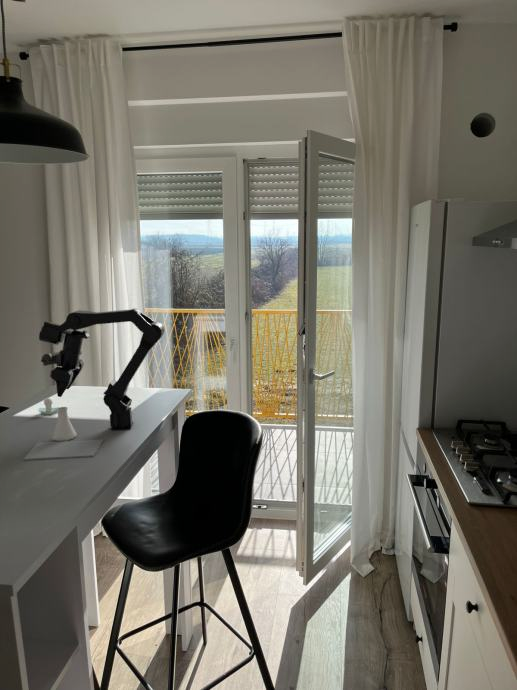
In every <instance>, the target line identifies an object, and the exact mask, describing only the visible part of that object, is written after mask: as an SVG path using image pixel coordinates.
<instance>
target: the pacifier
mask: <svg viewBox="0 0 517 690" xmlns="http://www.w3.org/2000/svg"><path fill="white" fill-rule="evenodd" d="M43 403H44V405H45V407H39V408H37V409H38V412H39V413H41V414H44V415H55V413H56V414H57V413H58V411H57V408H59V407H60V406H58V407H52V405H53V400H52V399H51V398H49V397H47V398H44V400H43Z"/></svg>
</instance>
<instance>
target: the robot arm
mask: <svg viewBox="0 0 517 690" xmlns="http://www.w3.org/2000/svg"><path fill="white" fill-rule="evenodd" d="M127 322H129V323H130V322H131V323H132V324H133V325H134V326H135V327H136V328H137V329H138V330H139V331H140V332H141V333H142V336H141V338H140V342H139V345H138V347H137V348H136V350H135V352H134V353H133V355H132V357H131V359H130V360H129V361H128V363H127V365H126V367H125V368H124V370H123V372H122V373H121V374H120V376H119V378H118V379H117V380H115V379H112V380H111V382H109V384H108V386H107V389H106V390H105V391H104V392H103V399H102V401H103V402H104V405H106V406H107V407H108V409H109V411H110V415H109V423H110V425H109V426H110V427H111V428H110V430H111V431H114V430H119V431H121V430H130V429H132V427H133V425H134V421H133V412H132V407H131V405H132V402H133V399H131V398H130V397H129V396H128V395H127V392H128V390H129V386H130V383H131V381H132V379H134V376H135V375H136V373H137V371H138V370H139V368H140V367H141V365H142V363H143V362H144V360H145V359H146V357H147V355H148V354H149V352H150V351H151V349H152V348H153V347H154V346H155V345H156V344H157V343H158V341H159V340H160V339H161V338H162V337H163V335H164V333H165V326H164V325H163V324H162V323H161V322H159V321H154V320H153V319H152V318H151V317H149V316H148V315H146V314H144V312H142V311H141V310H139V309H138V308H135V307H134V308H131V309H123V310H121V309H119V310H111V311H109V310H108V311H97V312H96V311H90V310H82V309H81V310H80V309H78V310H75V311H73V312H70V313H69V314H68V315H67V316H66V319H65V321H64V322H62V323H61V324H57V323H53V322H51V321H47V320H46V321H44V322H43V325H42V327H41V330H40V331H39V334H38V335H39V336H38V339H39V342H43V343H47V344H52V345H56V346H58V345H59V344H60V343H62V349H60V350H59V352H49V353H44V354H43V355H41V359H40V362H41V363H42V364H43V367H45V366H49V365H56V367H54V368H53V369H52V370H51V371H50V374H49V377H50V378H51V380H54V382H55V384H56V386H55V387H56V393H57V394H56V395H57V397H59V398H62V396H63V395H64V393H65V391H66V390H69V389H70V388H71V387H72V385H73V383H74V382H75V381H76V379H77V377H78V376H79V375H80V373H81V372H82V370H83V369H84V365H85V363H84V361H83V360H82V359H80V356H81V355H82V353H83V351H82V345H83V341H84V340H85V339H86V340H88V339H89V338H90V337H91V335H90V334H89V333H88V331H87V329H86V328H89V327H92V326H95V325H105V324H114V323H115V324H117V323H127ZM82 329H85V330H82ZM80 330H82V331H80Z"/></svg>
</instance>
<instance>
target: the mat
mask: <svg viewBox="0 0 517 690" xmlns="http://www.w3.org/2000/svg"><path fill="white" fill-rule="evenodd" d="M103 441H104V439H85V440H82V439H80V440H67V441H47V442H46V441H42V442H37V443H36V444H35V445H34V446H33V448H31V450H30V451H28V453H27V454H26V456H24V458H23V461H31V460H33V461H34V460H53V459H69V458H86V457H87V458H89V457H95V455H96V454H97V453H98V450H99V449H100V446H101V445H102V443H103Z"/></svg>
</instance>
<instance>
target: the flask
mask: <svg viewBox="0 0 517 690" xmlns="http://www.w3.org/2000/svg"><path fill="white" fill-rule="evenodd" d="M58 407H59V408H57V407H56V408H57V411H58V412H57V422H56V425H55V429H54V432H53V435H52V438H51V439H52V440H53V441H55V442H61V441H71V440H72V439H75V438H76V437H77V436H78V434H77V432H76V429H75V428H74V426H73V424H72V423H71V422H72V421H70V418H69V415H68V406H58Z"/></svg>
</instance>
